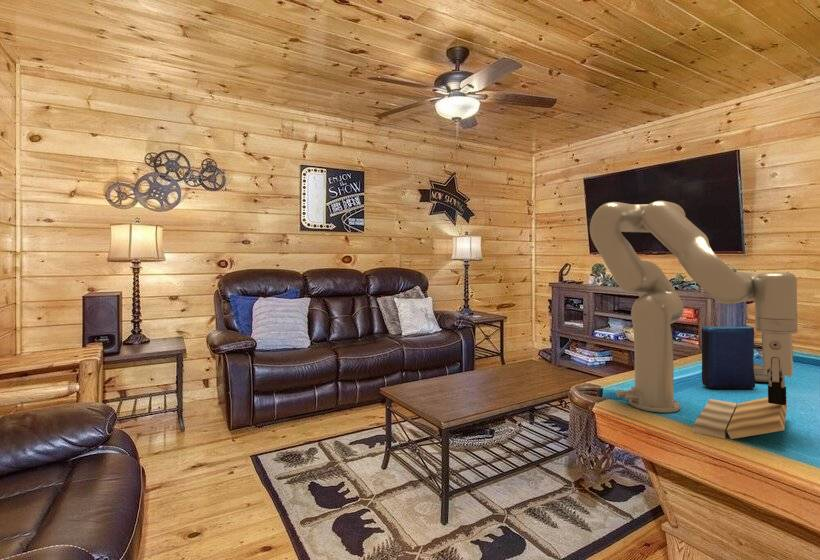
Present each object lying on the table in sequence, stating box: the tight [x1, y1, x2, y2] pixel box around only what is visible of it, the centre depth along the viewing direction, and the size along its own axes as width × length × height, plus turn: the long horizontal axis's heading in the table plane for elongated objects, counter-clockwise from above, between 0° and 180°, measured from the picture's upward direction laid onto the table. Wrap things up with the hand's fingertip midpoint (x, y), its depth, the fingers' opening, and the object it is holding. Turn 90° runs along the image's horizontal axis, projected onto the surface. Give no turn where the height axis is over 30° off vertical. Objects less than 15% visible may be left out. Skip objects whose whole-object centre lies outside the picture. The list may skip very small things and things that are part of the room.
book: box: [701, 324, 756, 389], centre depth 135 cm, size 14×5×20 cm, turn 84°
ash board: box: [693, 398, 738, 439], centre depth 109 cm, size 24×6×2 cm, turn 137°
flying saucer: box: [754, 362, 769, 383], centre depth 146 cm, size 15×15×6 cm
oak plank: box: [727, 396, 788, 440], centre depth 103 cm, size 24×10×2 cm, turn 137°
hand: (777, 403), depth 101 cm, fingers closed
